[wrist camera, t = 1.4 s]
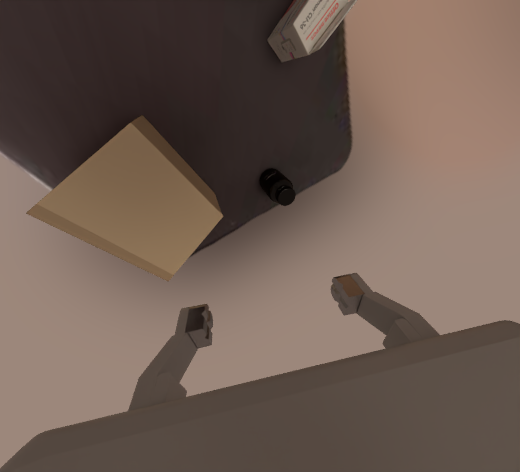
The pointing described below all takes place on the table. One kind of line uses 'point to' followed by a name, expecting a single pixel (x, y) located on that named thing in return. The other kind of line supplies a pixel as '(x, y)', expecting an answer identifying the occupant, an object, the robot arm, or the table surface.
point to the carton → (175, 159)
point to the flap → (131, 205)
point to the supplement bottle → (277, 187)
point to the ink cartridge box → (307, 27)
